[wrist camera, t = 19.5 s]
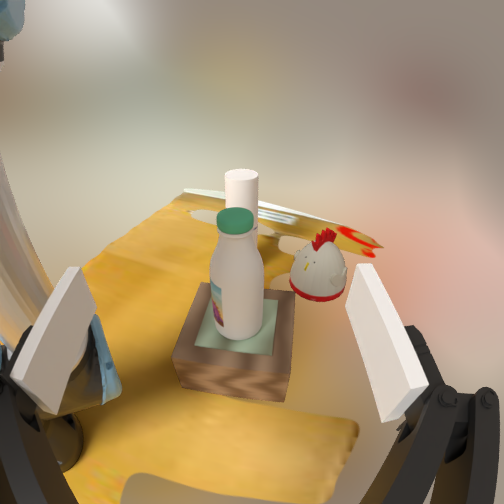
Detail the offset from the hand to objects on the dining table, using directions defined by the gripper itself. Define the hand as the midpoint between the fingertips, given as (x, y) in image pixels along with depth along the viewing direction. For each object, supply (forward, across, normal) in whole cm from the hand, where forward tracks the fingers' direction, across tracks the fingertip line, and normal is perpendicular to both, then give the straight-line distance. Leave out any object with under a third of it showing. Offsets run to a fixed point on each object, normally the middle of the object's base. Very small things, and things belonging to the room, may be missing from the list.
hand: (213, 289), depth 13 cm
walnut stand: (+23, +1, -38) cm, 44 cm away
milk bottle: (+22, 0, -28) cm, 36 cm away
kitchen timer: (+44, +20, -38) cm, 62 cm away
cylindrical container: (+50, +1, -38) cm, 63 cm away
